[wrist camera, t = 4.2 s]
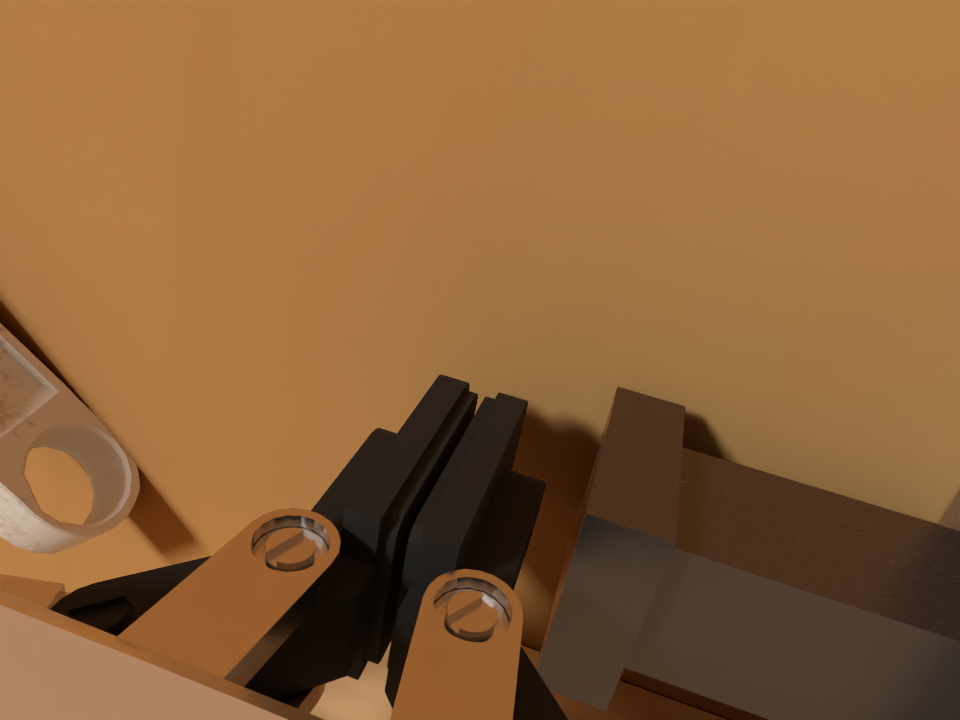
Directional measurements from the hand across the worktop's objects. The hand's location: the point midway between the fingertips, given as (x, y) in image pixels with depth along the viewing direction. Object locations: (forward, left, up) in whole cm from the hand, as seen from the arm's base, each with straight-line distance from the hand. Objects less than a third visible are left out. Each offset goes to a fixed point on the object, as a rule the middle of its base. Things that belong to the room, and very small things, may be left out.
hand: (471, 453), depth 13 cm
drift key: (-7, 0, -1) cm, 7 cm away
